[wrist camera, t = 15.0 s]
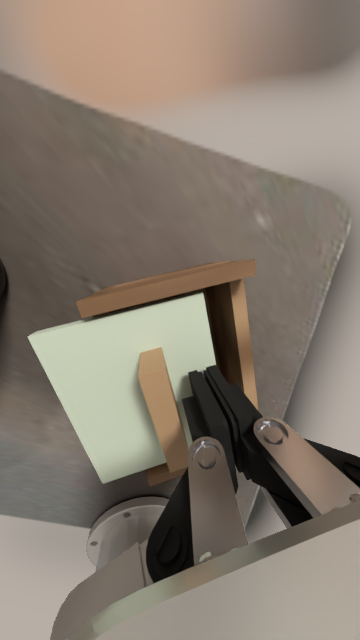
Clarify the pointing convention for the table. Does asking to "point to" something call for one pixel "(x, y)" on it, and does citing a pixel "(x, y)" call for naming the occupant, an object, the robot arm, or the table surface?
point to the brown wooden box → (222, 311)
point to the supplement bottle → (2, 279)
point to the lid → (130, 381)
